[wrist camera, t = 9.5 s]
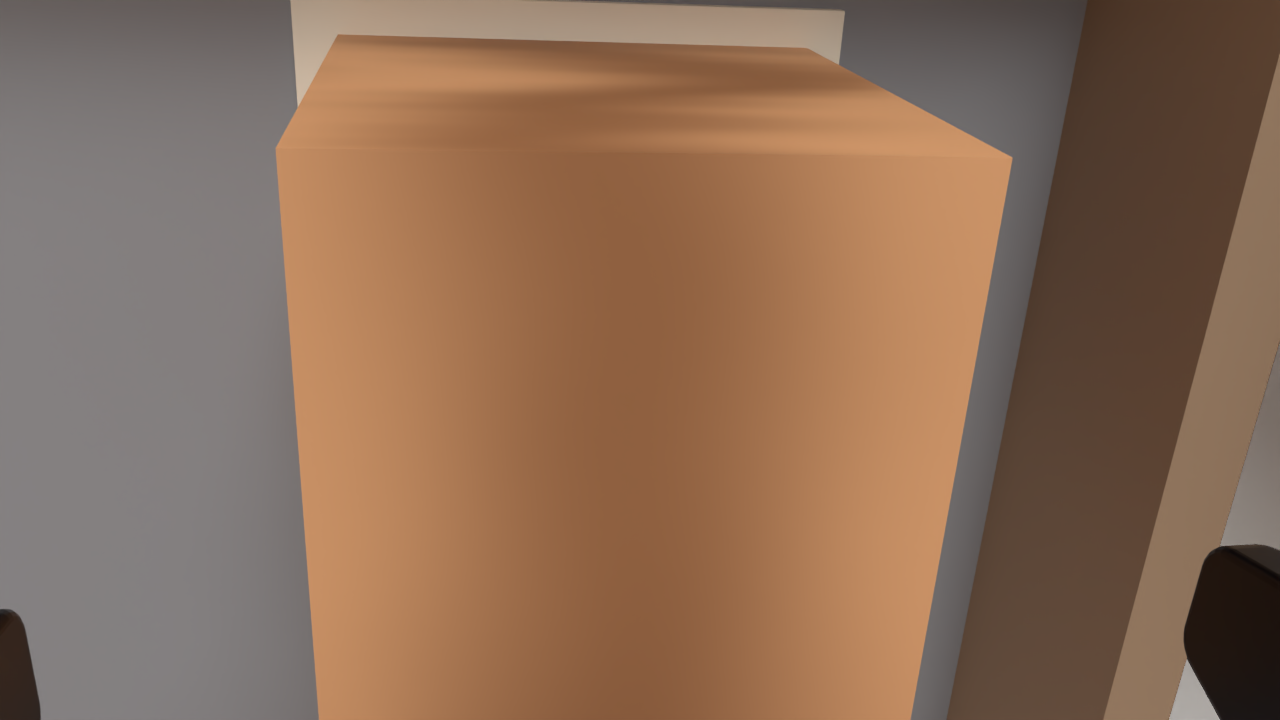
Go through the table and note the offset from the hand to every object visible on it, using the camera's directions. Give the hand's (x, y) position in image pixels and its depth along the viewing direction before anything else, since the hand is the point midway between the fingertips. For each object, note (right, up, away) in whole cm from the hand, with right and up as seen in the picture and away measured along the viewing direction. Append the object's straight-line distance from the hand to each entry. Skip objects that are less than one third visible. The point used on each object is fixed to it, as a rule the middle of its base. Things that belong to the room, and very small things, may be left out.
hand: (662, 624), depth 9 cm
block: (-1, +3, +7) cm, 8 cm away
